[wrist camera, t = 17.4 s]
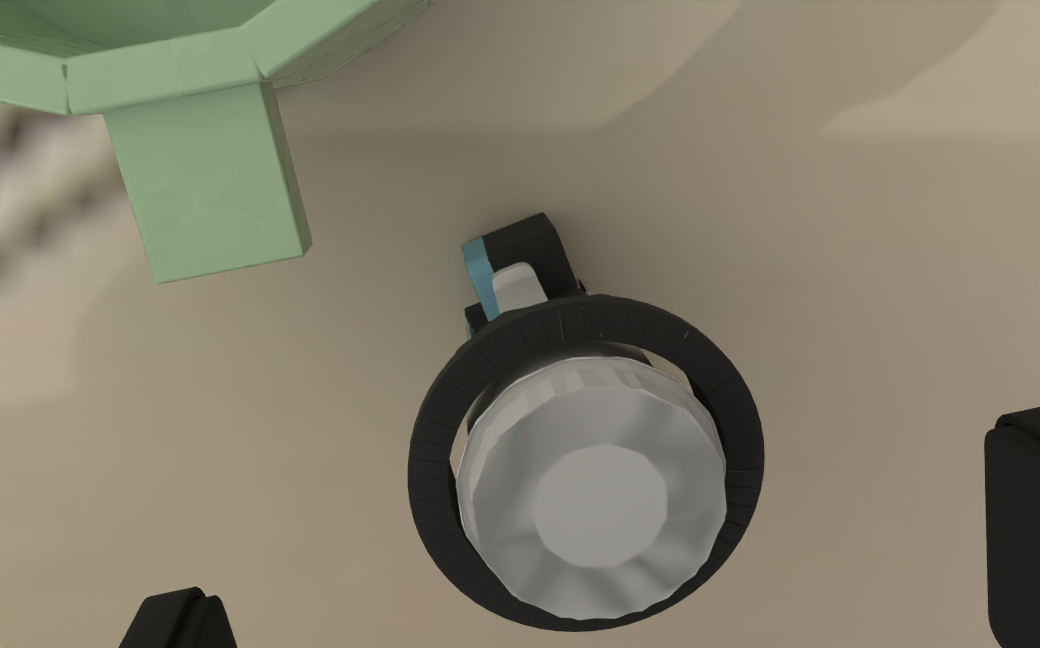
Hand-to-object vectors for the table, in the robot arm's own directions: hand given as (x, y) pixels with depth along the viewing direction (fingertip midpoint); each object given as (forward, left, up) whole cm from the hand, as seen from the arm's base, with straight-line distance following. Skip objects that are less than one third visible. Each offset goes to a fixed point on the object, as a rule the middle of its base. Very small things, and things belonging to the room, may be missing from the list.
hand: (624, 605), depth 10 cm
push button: (0, 0, -12) cm, 12 cm away
